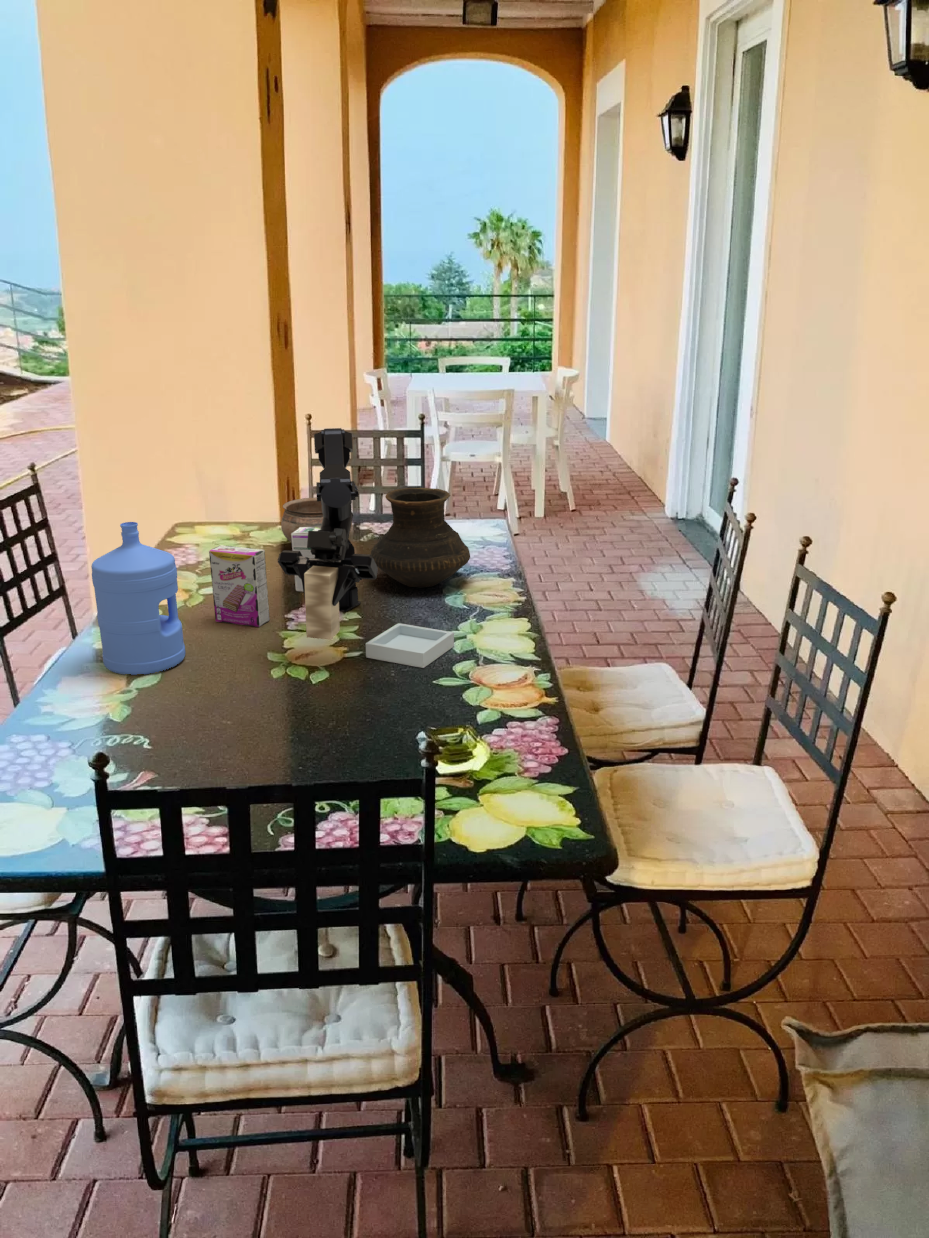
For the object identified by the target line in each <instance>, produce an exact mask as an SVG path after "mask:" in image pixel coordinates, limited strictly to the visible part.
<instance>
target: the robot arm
mask: <svg viewBox="0 0 929 1238" xmlns="http://www.w3.org/2000/svg"><path fill="white" fill-rule="evenodd" d="M313 441H314V444H313V445H314V454H316V455H317V456H318V462H319V464H320V465H321V468H323V469H322V470H320V472H319V482H318V481H317V482H316V497H317V501H321V505H322V513H323V515H324V516H323V520H322V525H321V530H318V531H308V540H307V548H311V554H312V555H315V558H308V557H303V556H302V554H301V552H300V551H292V550H288V549H287V550H284V549H283V550H282V551H281V552H280V553H278V554H279V555H278V558H277V563H278V565H279V566H280V568H281V570H282V571H283V573H284V574H285V575H288V576H295V575H297V576H299V578H300V579H301V580H302V585H303V592H302V593H303V597H304V600H305V582H304V573H305V572H307V571H308V570H309V569H310V568H311V567H312V566H323V567H335V568H338V580H337V584H336V587H335V591H334V595H333V600H332V604H333V606H336V604H337V603H338V602H339V612H348V611H350V610H352V609H354V608H355V607H358V606H359V605H361V603H362V602H361V601H359V590H358V589H359V587H358V586H357V583H360V581H362V580H371V581H372V580H376V579H377V578H378V576H377V575H378V572H379V569H378V568H379V567H377V565H376V563H375V561H374V559H373V557H372V556H371V553H370V554H369V553H368V554H367V553H356V551H355V547H354V545H353V543H352V542H351V541H350V539H349V538H350V534H351V531H350V528H351V523H352V524H353V517H354V514H353V512H352V503H353V501H356V499H357V498H358V497H359V487H358V485H356V483H355V480H352V479H351V471H350V470H349V469H347V467H348V465H349V464H350V461H351V453H353V452H354V444H353V442H354V441H353V433H352V432H350V431H346V430H345V429H342V427H340V428H339V427H338V428H331V427H330V428H323V429H321V430H320V431H319V432H317V433H314V434H313ZM349 533H350V534H349Z"/></svg>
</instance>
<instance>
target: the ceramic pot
mask: <svg viewBox="0 0 929 1238" xmlns="http://www.w3.org/2000/svg"><path fill="white" fill-rule="evenodd" d="M450 497H451V494H450V493H449V492H448V491H447V490H444V489H440V488H431V487H430V488H429V487H404V488H398V489H397V488H396V489H393V490H391V491H387V493H386V494H385V499H386V501H387V502H389V503H390V507H391V511H392V512H391V513H392V524H391V526H390V527H389V529H388V530H387V531H386V533H385V534H383V535H382V536H381V538H380V539H379V541H378V542H377V543H375V544H374V546H373V547H372V548H371V551H370V555H371V556H372V557H373V559H374V561H375V563H376V565H377V567H378V568H379V569H380V570H381V571H382V572H383V573H385V574H386V575H388V576H389V577H391V578H392V579H394V580H395V581H397V582H399V583H400V584H402V585H404V586H407V587H410V588H432V587H434V586H436V585H439V584H440V583H442V582H444V581H445V580H448V579H449V578H450V577H452V576H453V575H454V574H455V573H457V572H458V571H459V570H460V569H461V568H463V567H464V566H466V565H467V564H468V563H469V560H470V558H471V553H470V549H469V546H467V545H466V544H465V542H464V541H463V540H462V538H461V536H460V533H458V531H456V530H454V529H453V527H452V526H451V525H450V524H449V523H448V522H447V521H446V520H445V503H446V502H447V500H448V499H449V498H450Z"/></svg>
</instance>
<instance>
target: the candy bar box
mask: <svg viewBox="0 0 929 1238" xmlns="http://www.w3.org/2000/svg"><path fill="white" fill-rule="evenodd" d="M208 554H209V564H210V576H211V585H212V598H213V599H212V600H213V608H214V618H215V619H214V620H215V622H217V623H222V624H223V623H224V624H232V625H240V626H247V627H248V626H249V627H256V628H260V627H262V626H263V625H265V624H266V623H268V622H270V617H271V616H270V608H269V607H270V606H269V605H270V604H269V594H268V593H269V591H268V580H267V579H268V578H267V565H266V551H265V549H261V548H251V547H249V548H248V547H241V546H232V545H225V544H224V545H223V544H221V545H218V546H216V547H213V548H211V549H210V550H208Z"/></svg>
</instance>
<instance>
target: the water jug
mask: <svg viewBox="0 0 929 1238" xmlns="http://www.w3.org/2000/svg"><path fill="white" fill-rule="evenodd" d="M119 526H120V528H121V532H120V533H121V534H120V535H121V538H122V539H121V540H122V543H121V545H120V546H118V547H116V548H115V549H112V550H111V551H109V552H107V553H105V554H103V555H101V556H99V557H98V558H95V560H93V561H92V563H91V579H92V580H91V581H92V584H93V585H92V586H93V589H94V597H95V603H96V604H95V605H96V615H97V616H96V617H97V624H98V627H99V633H100V641H101V647H102V663H103V665H104V667H105V668H106V669H107V670H109V671H110V672H112V673H115V674H120V675H125V674H131V675H130V676H138V675H137V674H144V675H151V674H155V672H157V673H160V672H159V671H161V672H164V671H167V670H169V668H170V669H172V668H174V667H175V666H178V665H179V664H180V663H182V662H183V660H184V659H185V657H186V644H185V643H184V642H185V641H184V632H183V624H182V621H181V620H180V619H179V611H178V603H177V601H178V600H177V596H176V595H177V593H178V590H179V584H178V571H177V570H178V569H177V564H176V559H175V556H174V555H173V554H172V553H170V552H168V551H165V550H161V549H159V548H155V547H152V546H150V545H146V544H143V543H141V542H140V537H139V536H140V531H139V529H138V526H139V525H138V522H135V521H127V522H126V521H125V522H122V523H120V525H119ZM164 600H167V601H166V602H167V611H168V612H167V613H168V615H164V614H160V610H159V609H160V608H159V606H160V604H161V602H162V601H164ZM177 664H178V665H177ZM171 667H172V668H171ZM166 669H167V670H166ZM163 670H164V671H163ZM150 673H151V674H150Z"/></svg>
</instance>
